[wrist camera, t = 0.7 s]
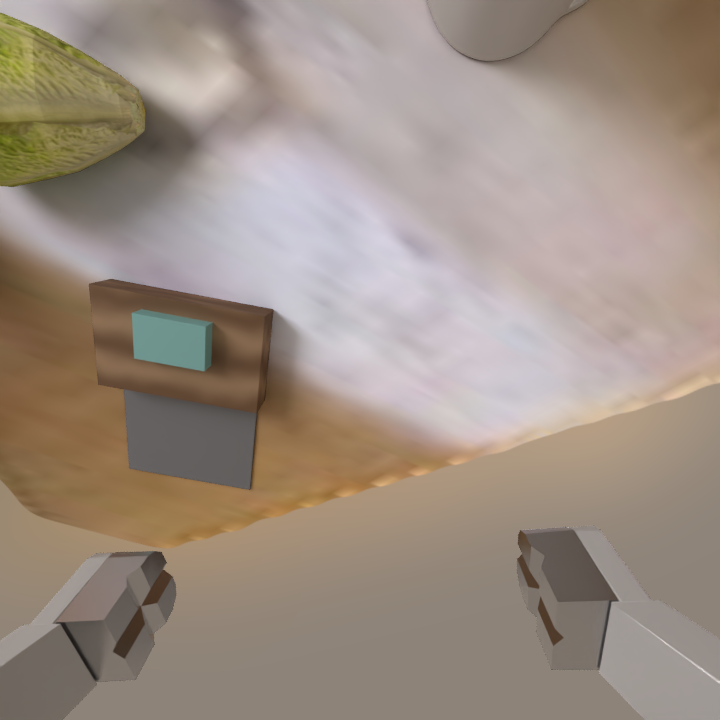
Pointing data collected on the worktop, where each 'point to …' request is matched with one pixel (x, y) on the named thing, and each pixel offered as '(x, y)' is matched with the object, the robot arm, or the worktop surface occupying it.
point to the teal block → (172, 340)
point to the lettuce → (58, 107)
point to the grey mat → (189, 439)
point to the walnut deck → (213, 387)
